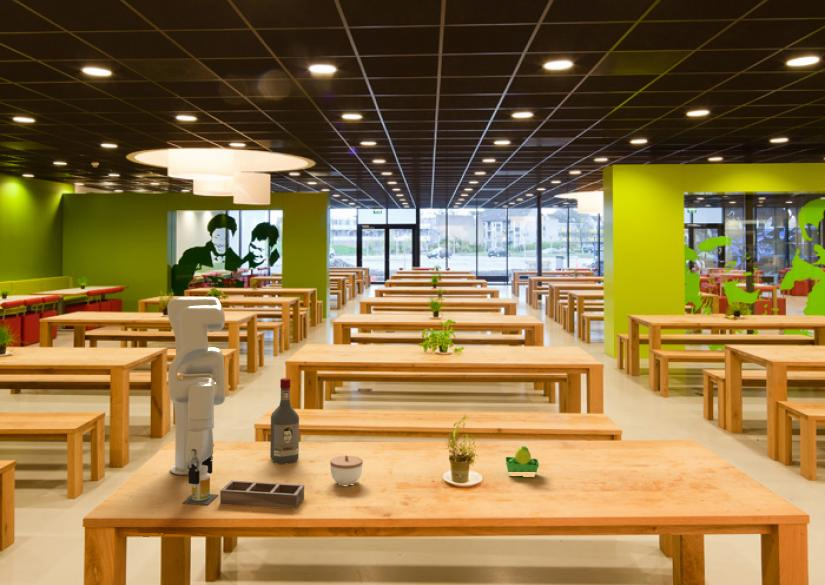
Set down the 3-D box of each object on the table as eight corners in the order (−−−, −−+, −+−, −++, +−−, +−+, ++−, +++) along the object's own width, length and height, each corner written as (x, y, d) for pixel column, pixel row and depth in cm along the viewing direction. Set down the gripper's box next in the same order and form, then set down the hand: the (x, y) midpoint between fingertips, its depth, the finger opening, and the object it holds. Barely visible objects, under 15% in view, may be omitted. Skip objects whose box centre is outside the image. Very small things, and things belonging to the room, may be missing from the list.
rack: (231, 493, 213) (231, 480, 213) (304, 498, 211) (304, 484, 211) (220, 504, 204) (220, 490, 204) (296, 509, 202) (296, 495, 202)
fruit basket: (536, 472, 241) (538, 441, 240) (539, 480, 232) (540, 448, 232) (504, 470, 242) (505, 439, 242) (505, 478, 234) (506, 446, 233)
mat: (193, 494, 212) (193, 493, 212) (218, 495, 211) (218, 494, 211) (182, 503, 204) (182, 502, 204) (207, 505, 203) (207, 504, 203)
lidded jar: (357, 490, 219) (357, 461, 218) (325, 487, 221) (326, 459, 220) (365, 479, 229) (366, 452, 229) (335, 476, 232) (336, 449, 231)
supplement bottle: (211, 494, 210) (212, 464, 210) (207, 501, 205) (207, 470, 205) (194, 494, 210) (194, 464, 210) (189, 501, 205) (189, 469, 204)
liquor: (269, 457, 250) (270, 377, 248) (293, 455, 254) (294, 376, 252) (274, 465, 242) (275, 382, 240) (299, 462, 246) (301, 380, 244)
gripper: (200, 415, 215) (200, 468, 216) (176, 429, 198) (176, 487, 199) (223, 417, 214) (223, 470, 215) (201, 431, 197) (200, 488, 198)
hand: (200, 478), depth 207 cm, fingers open, 9 cm apart
